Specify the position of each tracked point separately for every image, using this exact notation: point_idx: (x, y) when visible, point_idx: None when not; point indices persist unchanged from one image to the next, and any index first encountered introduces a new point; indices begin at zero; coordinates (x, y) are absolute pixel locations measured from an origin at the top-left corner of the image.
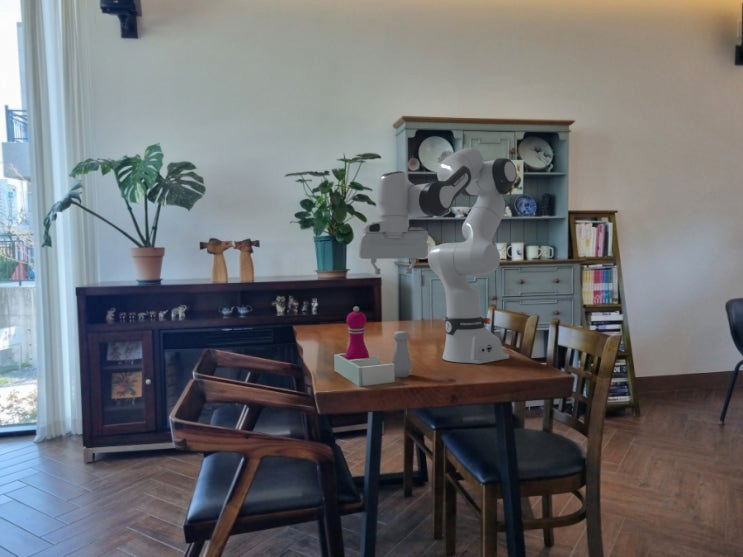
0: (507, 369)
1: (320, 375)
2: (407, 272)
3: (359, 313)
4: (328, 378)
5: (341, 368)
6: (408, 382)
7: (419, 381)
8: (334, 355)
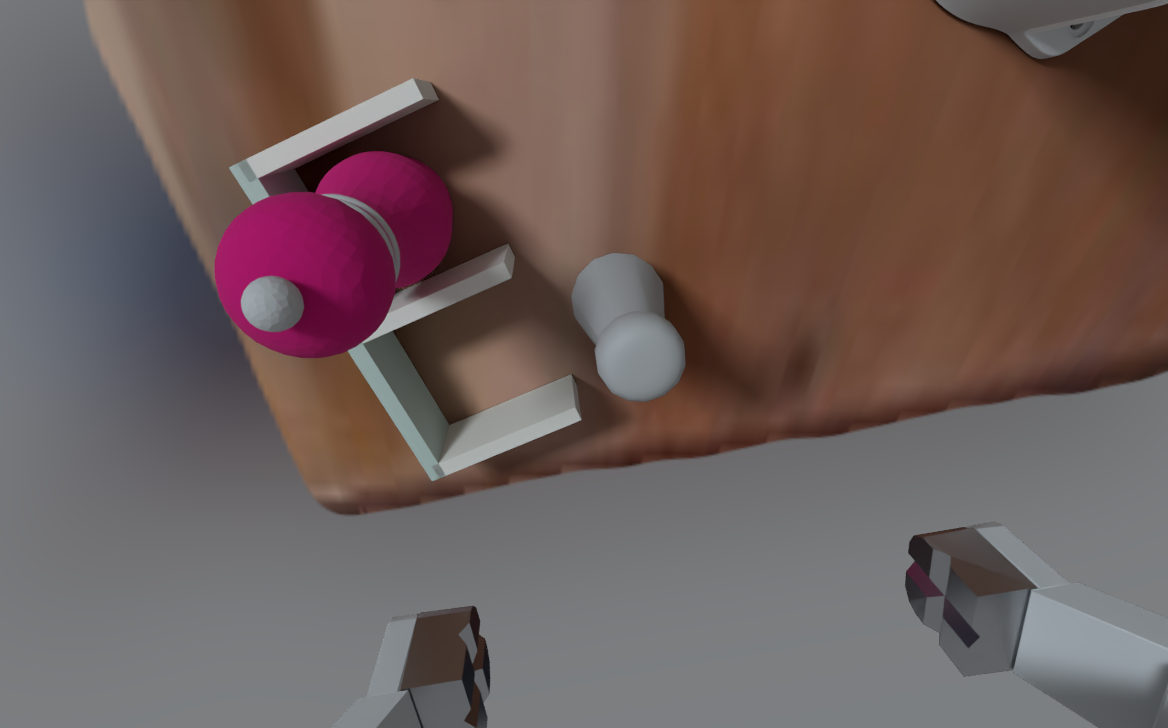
0: (1105, 190)
1: None
2: (919, 616)
3: (325, 336)
4: None
5: None
6: None
7: None
8: (236, 174)
